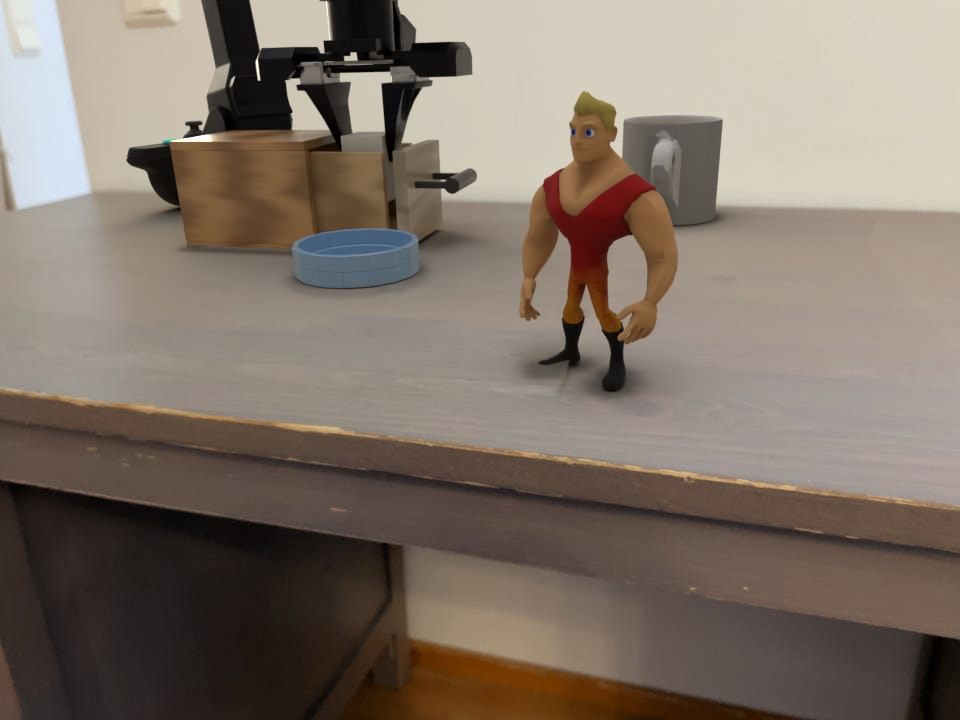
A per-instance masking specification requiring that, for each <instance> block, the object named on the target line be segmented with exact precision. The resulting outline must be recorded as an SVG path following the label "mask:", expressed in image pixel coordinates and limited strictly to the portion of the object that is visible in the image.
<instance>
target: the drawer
mask: <svg viewBox="0 0 960 720" xmlns="http://www.w3.org/2000/svg"><path fill="white" fill-rule="evenodd" d="M308 152H309V161H310V171H311V180H312V190H313V199H314V209H315V218H316V228H317V234H318V233H322V232H329V231H336V230H343V229H359V228H384V229H395V230H402V231H407V232H410V233H412V234H415V235H417V238H418V242H420V241H422V240H423V239H424V238H427V236H429V235H430V234H432V233H433V232H436V230H438V229H439V228H441V227H442V226H443V225H444V224H443V204H442V202H443V200H442V199H443V198H442V189H443V190H445V191H446V193H448V194H451V195H454V194H457V193H458V192H460V191H462V190H463V189H465V188H467V187H468V186H470V185H472V184H474V183H475V182H476V181H477V179H478V173H477V172H476V170H475V169H473V168H470V167H469V168H466V169H464V170H462V171H460V172H441V159H440V157H441V156H440V140H439V139H425V140H422V141H420V142H417V143H414V144H413V143H412V142H402V143H401V147H400V149H398V150H395V151H393V152H392V153H393V168H394V183H395V197H396V199H394V200H392V201H390V202H388V195H387V180H386V166H385V152H341V151H340V149H339V147H338V145H337V143H332V144H328V145H324V146H320V147H316V148H313V149H309V150H308Z"/></svg>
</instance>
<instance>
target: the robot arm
mask: <svg viewBox="0 0 960 720" xmlns="http://www.w3.org/2000/svg"><path fill="white" fill-rule="evenodd" d="M200 2H201V7H202V11H203V15H204V19H205V25H206V29H207V33H208V34H207V35H208V38H209V43H210V48H211V52H212V58H213V62H214V66H215V69H214V70H213V71H214V72H213V74H212V77H211V79H210V83H209V86H208V89H207V92H206V103H207V110H208V115H207V117H206V120H205V122H204V126H203V129H202V134H201V136H203V135H208V134H214V133H220V132H225V131H231V130H293V124H294V123H293V121H294V120H293V108H292V106H291V104H290V100H289V96H288V95H289V94H288V87H287V81H291V80H292V79H293V80H294V79H297V80H298V79H299V84H295V87H296V91H298V92H305V94H306V95H307V96H308V98H309V99H310V101H311V103H312V104H313V105H314V107H315V108H316V110H317V112H318V113H319V114H320V116H321V118H322V120H323V121H324V123H325V125H326V127H327V128H328V130H330V132H331V134H332V136H333V138H334V140H335V142H336V143H337V145H338V147H339V149H340V151H341V152H342V146H341V136H343V135H347V134H351V133H352V131H353V128H352V121H351V120H352V119H351V112H350V105H349V97H350V91H351V86H352V82H351V81H341V74H355V73H356V74H358V73H361V74H362V73H389V75H390V76H391V81H389V82H388V81H387V82H381V83H380V87H381V100H382V111H383V126H384V132H385V139H386V148H387V153H388V157H389V161H390V162H393V153H392V152H393V151H395V150H398V149H400V147H401V143H403V138H404V135H405V132H406V127H407V124H408V120H409V117H410V114H411V111H412V108H413V106H414V104H415V101H416V99H417V98H418V97H419V94H420V92H421V91H422V89H423V88H429V87H432V86H433V83H434V80H433V79H430V78H456V77H457V78H458V77H463V76H472V75H473V55H472V51H471V48H470V46H469V45H468V44H467V43H466V42H465V41H431V42H426V41H425V42H416V41H417V28H416V26H414V25H413V24H412V22H411V21H410V20H409V19H408V17H406V16H405V14H402V13H401V10H400V7H399V0H319V2H325V5H326V17H327V27H328V38H329V39H326V40H323V52H321V51H320V49H319V47H318V46H281V47H261V48H260V43H259V40H258V39H259V38H258V33H257V30H256V23H255V20H254V14H253V10H252V5H251V0H200ZM352 53H356V60H345V57H351V55H352Z"/></svg>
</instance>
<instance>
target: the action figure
mask: <svg viewBox="0 0 960 720" xmlns="http://www.w3.org/2000/svg"><path fill="white" fill-rule="evenodd" d="M617 113H618V112H617V110H616V107H615V106H614V105H613V104H612V103H609V102H607V101H605V100H601V99H598V98H596V97H594V96H593V95H592V94H591V93H590V92H589V91H586V90H583V91H582V92H581V93H580V94H579V96H578V98H577V99H576V103H575V104H574V106H573V116H572V119H571V121H569V122H568V127H569V129H570V137H569V143H570V147H571V152H572V158H573V160H572V161H571V162H570V163H569V164H567V165H566V166H565V167H562V168H560V169H558V170H556V171H555V172H554V173H552V174H551V175H549V176H547V177H545V178H544V179H543V183H542V184H541V185H540V186H539V188H537V190H536V191H535V192H534V195H533V197H532V199H531V204H530V209H529V217H528V218H529V219H528V221H529V227H528V229H527V230H526V233H525V236H524V237H523V238H524V239H523V242H522V245H521V246H522V247H521V252H522V253H521V260H522V271H523V277H524V278H523V281H522V283H521V287H520V301H519V308H518V312H519V318H521V319H523V318H525V320H526V321H527V322H530V321H531V319H533V320H534V321H536V320H537V319H538V317H541V313H540V312H539V311H538V310H537V309H535V308H534V306H533V305H532V303H531V302H532V300H533V299H534V298H533V297H534V294H535V291H536V288H537V281H536V278H537V277H538V275H539V273H540V272H541V270H542V269H543V268H544V267H545V265H546V264H547V262H548V260H549V259H550V258H551V256H552V254H553V252H554V250H555V248H556V245H557V243H558V241H559V234H560V233H561V235H562V236H563V237H564V238H565V239H566V240H567V242H568V244H569V247H570V269H569V275H568V283H567V290H566V291H567V292H566V294H567V298H566V303H565V305H564V308H563V310H562V317H561V323H562V324H561V325H562V329H563V330H562V331H563V333H564V339H565V341H564V342H565V344H564V349H562V350H561V351H560V352H559V353H557V354H555V355H553V356H551V357H549V358H546V359H542V360H540V361H538V362H537V363H538V365H541V366H549V365H554V364H559V363H561V362H566V361H569V362H568V364H578V363H580V362H581V353H580V351H579V341H580V337H581V334H582V331H583V327H584V324H585V319H586V315H585V313H584V310H583V308H582V307H581V304H582V301H583V297H584V294H585V291H586V288H587V292H588V295H589V298H590V301H591V304H592V307H593V311H594V313H595V317H596V319H597V320H598V322H599V325H600V327H601V330H600V331H601V333H602V334H603V335H604V337H605V339H606V340H607V342H608V346H609V351H610V358H609V362H608V370H607V372H606V374H605V375H604V376H603V378H602V379H601V386H602V388H603V389H605V390H607V391H608V390H609V391H616V390H619V389H620V388H621V387H622V386H623V385H624V383H625V381H626V375H627V370H626V364H625V360H624V349H625V348H624V347H625V345H626V346H628V345H630V344H631V343H635V342H637V341H639V340H642V339H646V338H647V337H649V336H650V335H651V333H652V332H653V331H654V329H655V328H656V325H657V319H658V305H657V304H658V303H659V302H660V301H662V299H663V298H664V297H665V295H666V294H667V293H668V291H669V290H670V288H671V287H672V285H673V283H674V280H675V277H676V275H677V271H678V266H679V265H678V263H679V253H678V245H677V241H676V237H675V229H674V225H673V224H672V221H671V217H670V214H669V211H668V208H667V206H666V204H665V202H664V199H663V197H662V196H661V195H660V194H659V193H658V192H657V191H656V187H654V186H653V185H651V184H650V183H649V182H647V181H646V180H644V179H643V178H642V177H640V176H639V175H638V174H635V173H634V172H633V171H632V170H631V169H630V168H629V167H628V165H627V164H626V163H625V161H624V160H623V159H622V156H620V155H619V154H618V153H617V152H616V151H615V150H614V149H613V147H612V146H611V143H614V142H616V138H617V135H618V132H619V131H618V130H619V129H618V127H617V126H616V125H615V121H616V117H617ZM559 232H560V233H559ZM628 236H633V238H634V240H635V241H636V242H637V244H638V246H639V247H640V249H641V250H642V252H643V254H644V258H645V261H646V291H645V296H644V298H643V299H642V300H640V301H637V302H634V303H632V304H630V305H627V306H626V307H624V308H622V310H621V311H620V312H619V313H616V312H614V311H613V310H611V309H610V307H609V306H610V305H609V278H608V277H609V273H610V270H609V263H608V253H609V250H610V247H611V246H612V245H613V244H614V243H615V242H616V241H618V240H620V239H622V238H625V237H628ZM629 315H631V316H630V318H629V321H628V323H627V325H626V326H625V328H624V324H623V321H622V320H624V319H626V318H627V317H628V316H629Z"/></svg>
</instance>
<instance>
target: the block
mask: <svg viewBox="0 0 960 720" xmlns="http://www.w3.org/2000/svg"><path fill="white" fill-rule="evenodd" d="M341 146H342V152H385V166H386V180H387V195H388V202H390V201H392V200H394V199H396V197H395V183H394V168H393V162H390V161H389V157H388V153H387V148H386V139H385V131H355V132H353V133H351V134H347V135H343V136H341Z"/></svg>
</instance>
